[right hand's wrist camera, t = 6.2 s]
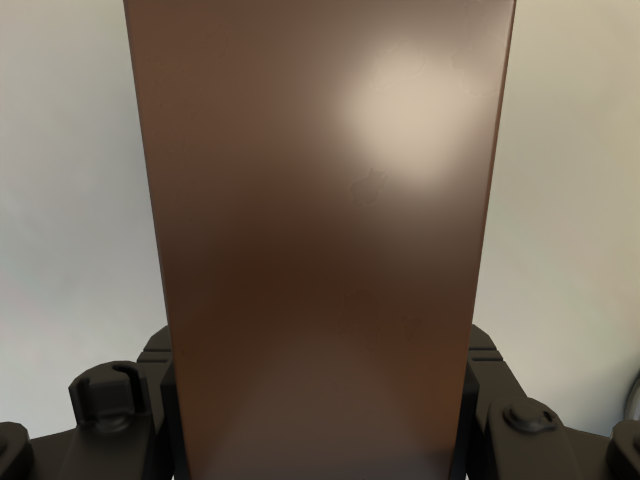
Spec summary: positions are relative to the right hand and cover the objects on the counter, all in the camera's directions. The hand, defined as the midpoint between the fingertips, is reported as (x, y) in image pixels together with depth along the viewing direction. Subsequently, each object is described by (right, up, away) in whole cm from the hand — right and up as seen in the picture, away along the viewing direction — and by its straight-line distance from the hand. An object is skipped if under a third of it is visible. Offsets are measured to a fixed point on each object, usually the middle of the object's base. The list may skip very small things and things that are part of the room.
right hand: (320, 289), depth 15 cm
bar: (0, +9, -3) cm, 10 cm away
